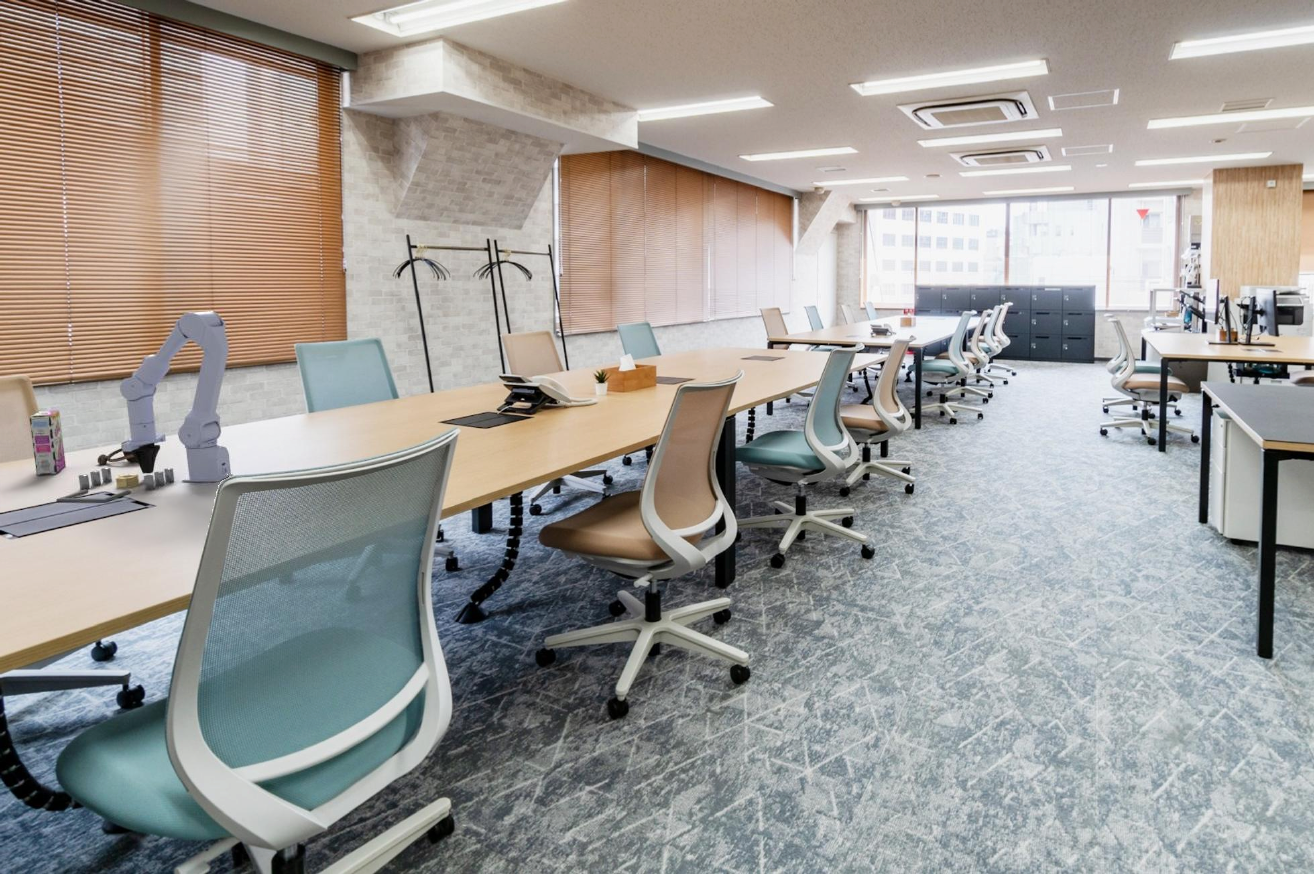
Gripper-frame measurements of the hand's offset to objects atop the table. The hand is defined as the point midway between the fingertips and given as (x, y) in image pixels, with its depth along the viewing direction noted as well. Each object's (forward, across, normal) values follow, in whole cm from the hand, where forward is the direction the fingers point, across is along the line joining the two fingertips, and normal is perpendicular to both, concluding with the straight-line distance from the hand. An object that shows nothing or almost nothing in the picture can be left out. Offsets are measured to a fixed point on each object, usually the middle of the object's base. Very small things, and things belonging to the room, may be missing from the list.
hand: (147, 472), depth 220 cm
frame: (+2, +20, 0) cm, 20 cm away
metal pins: (+1, +8, 0) cm, 8 cm away
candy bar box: (+2, -7, -33) cm, 34 cm away
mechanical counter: (+2, -20, -20) cm, 29 cm away
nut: (+2, +8, 0) cm, 8 cm away
